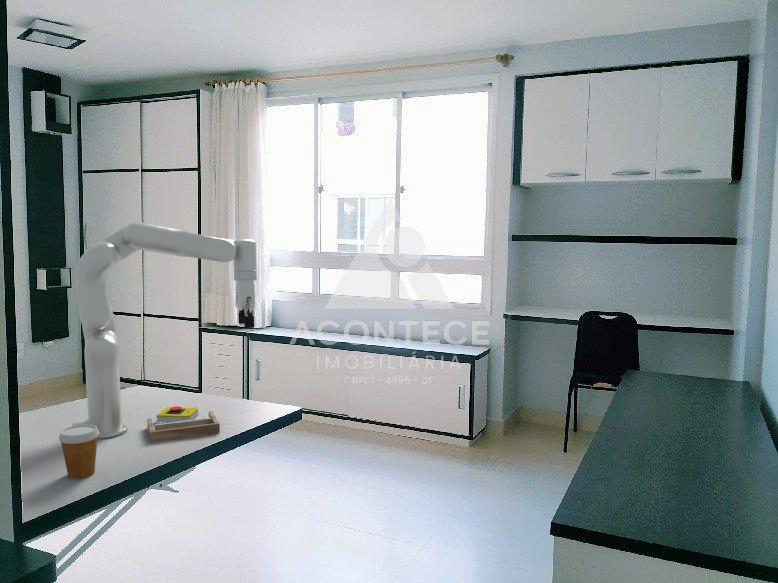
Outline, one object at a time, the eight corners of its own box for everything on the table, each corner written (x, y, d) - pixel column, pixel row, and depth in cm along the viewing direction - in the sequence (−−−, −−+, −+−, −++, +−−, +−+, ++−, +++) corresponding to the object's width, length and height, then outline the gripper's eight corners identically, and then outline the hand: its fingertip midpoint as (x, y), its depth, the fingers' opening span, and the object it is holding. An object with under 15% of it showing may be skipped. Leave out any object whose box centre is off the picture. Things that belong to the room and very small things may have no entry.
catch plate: (154, 433, 193) (154, 424, 192) (210, 426, 200) (210, 417, 199) (155, 434, 191) (154, 425, 191) (211, 427, 199) (211, 418, 198)
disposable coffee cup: (73, 466, 167) (71, 423, 166) (107, 467, 167) (105, 424, 165) (53, 481, 158) (50, 435, 156) (89, 481, 157) (87, 436, 156)
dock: (147, 428, 199) (147, 419, 198) (212, 419, 207) (212, 411, 207) (150, 442, 186) (150, 432, 186) (219, 432, 194) (219, 423, 194)
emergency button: (162, 403, 213) (205, 404, 212) (163, 415, 213) (205, 416, 212) (150, 411, 203) (195, 412, 203) (151, 424, 204) (195, 425, 203)
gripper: (229, 274, 214) (230, 322, 216) (239, 278, 199) (240, 330, 200) (250, 273, 217) (251, 321, 219) (262, 277, 202) (263, 329, 204)
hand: (246, 325), depth 210 cm, fingers open, 9 cm apart
